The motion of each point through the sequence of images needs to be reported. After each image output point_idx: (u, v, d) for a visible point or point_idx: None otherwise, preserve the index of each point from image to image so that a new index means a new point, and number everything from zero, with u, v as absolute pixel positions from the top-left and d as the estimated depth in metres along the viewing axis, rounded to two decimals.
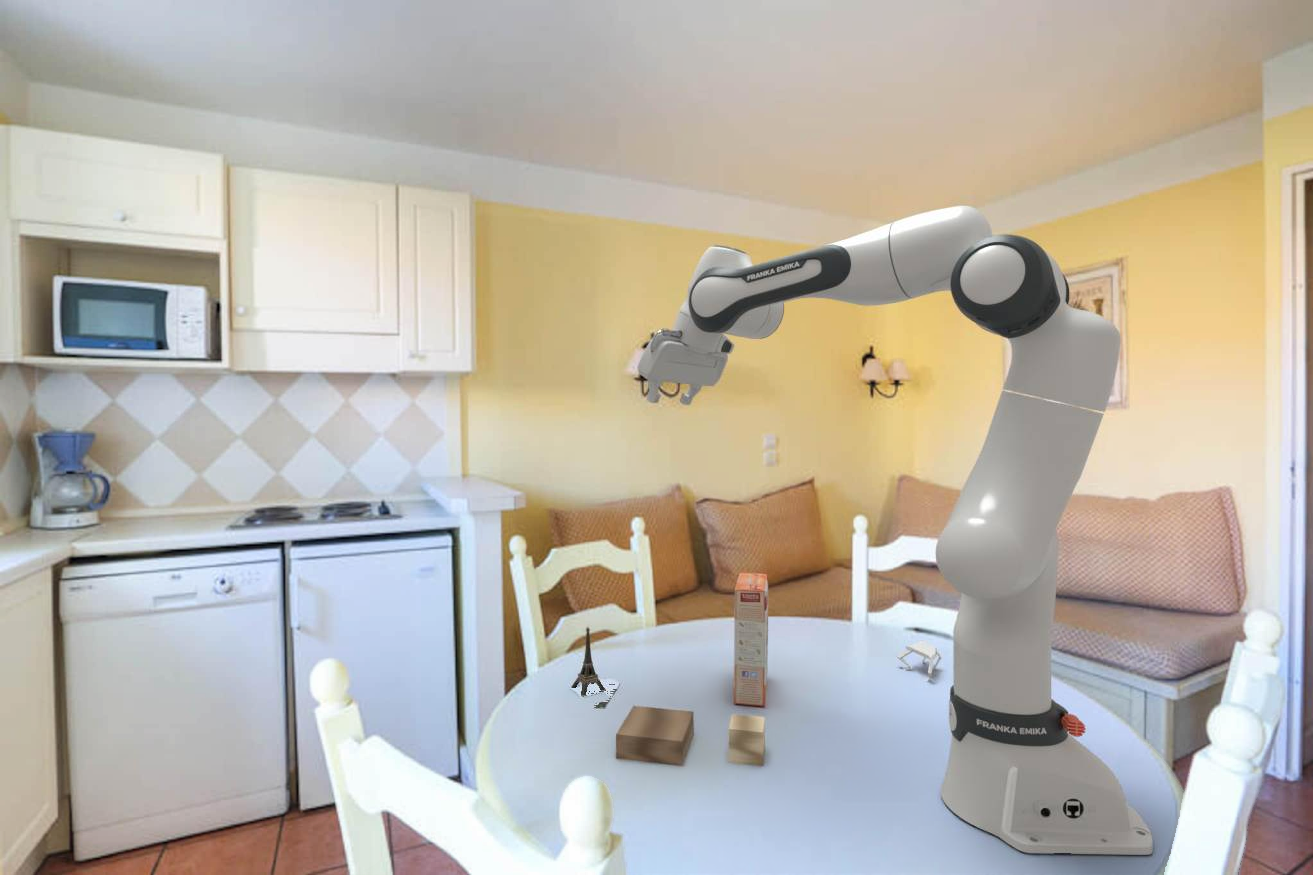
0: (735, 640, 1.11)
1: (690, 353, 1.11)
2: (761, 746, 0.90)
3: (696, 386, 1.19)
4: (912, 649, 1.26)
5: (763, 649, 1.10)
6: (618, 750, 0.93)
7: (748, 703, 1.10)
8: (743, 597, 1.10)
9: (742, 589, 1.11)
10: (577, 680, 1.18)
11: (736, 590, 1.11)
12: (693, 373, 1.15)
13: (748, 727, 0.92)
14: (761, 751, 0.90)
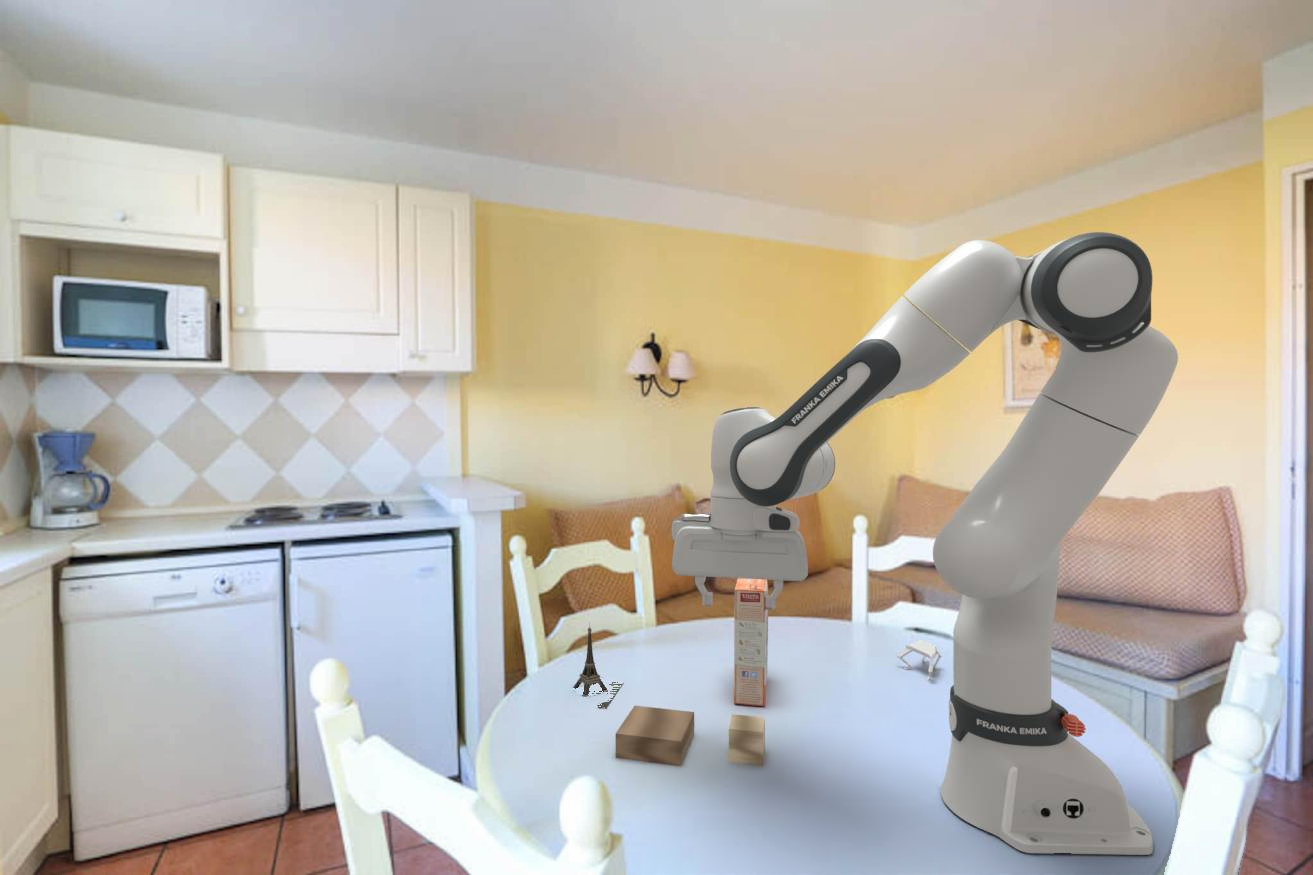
0: (735, 640, 1.11)
1: (723, 537, 0.92)
2: (761, 746, 0.90)
3: None
4: (912, 648, 1.26)
5: (763, 649, 1.10)
6: (617, 749, 0.93)
7: (748, 703, 1.10)
8: (743, 597, 1.10)
9: (742, 589, 1.11)
10: (579, 680, 1.18)
11: (736, 590, 1.11)
12: (747, 563, 0.92)
13: (748, 727, 0.92)
14: (761, 751, 0.90)
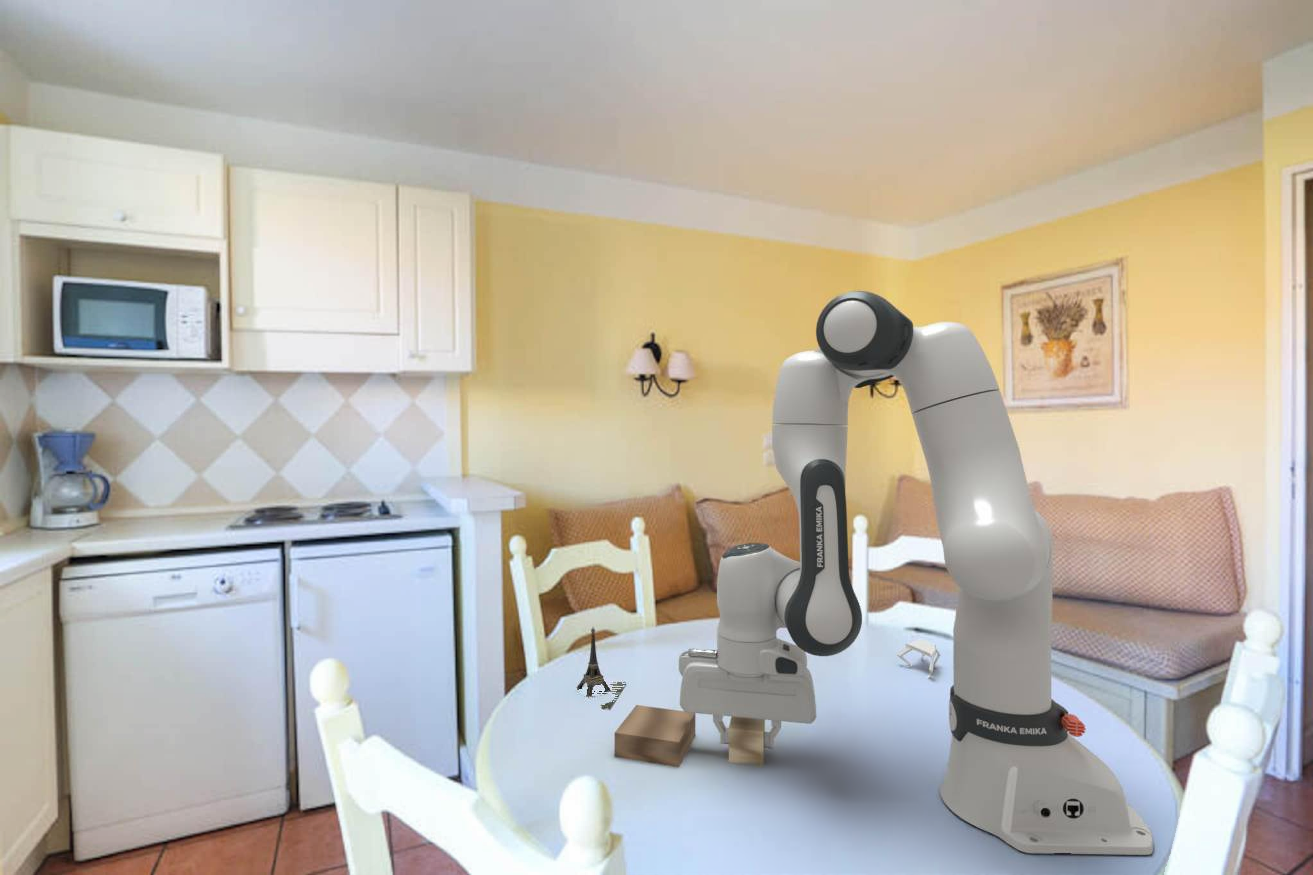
0: None
1: (730, 677, 0.92)
2: (761, 745, 0.90)
3: None
4: (912, 647, 1.27)
5: None
6: (616, 749, 0.93)
7: None
8: None
9: None
10: (582, 681, 1.18)
11: None
12: (754, 704, 0.91)
13: (748, 726, 0.92)
14: (761, 750, 0.90)
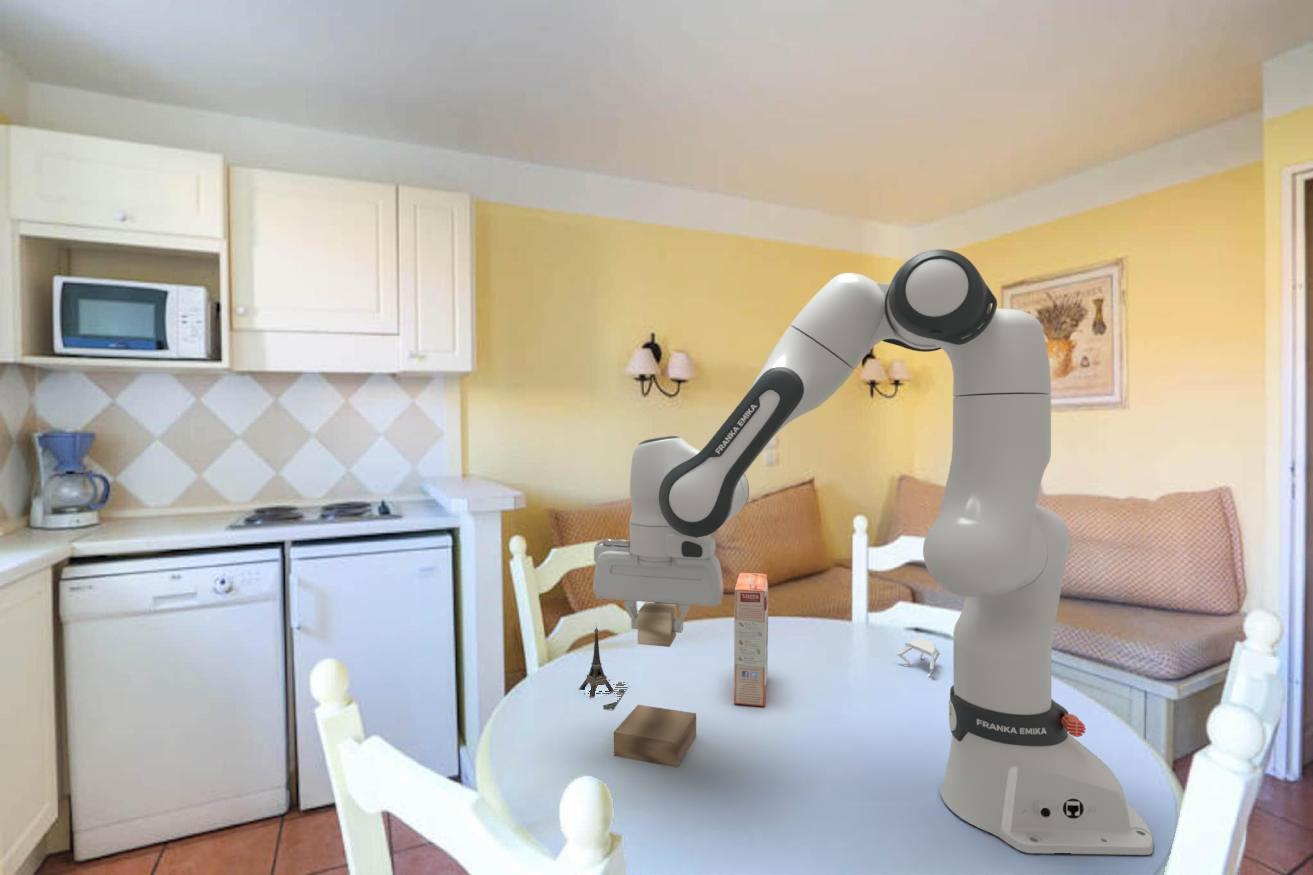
0: (735, 640, 1.11)
1: (640, 562, 0.95)
2: (668, 627, 0.93)
3: None
4: (912, 646, 1.28)
5: (763, 649, 1.10)
6: (615, 748, 0.93)
7: (748, 703, 1.10)
8: (743, 597, 1.10)
9: (742, 589, 1.11)
10: (585, 681, 1.17)
11: (736, 590, 1.11)
12: (663, 588, 0.94)
13: (657, 610, 0.95)
14: (668, 632, 0.93)
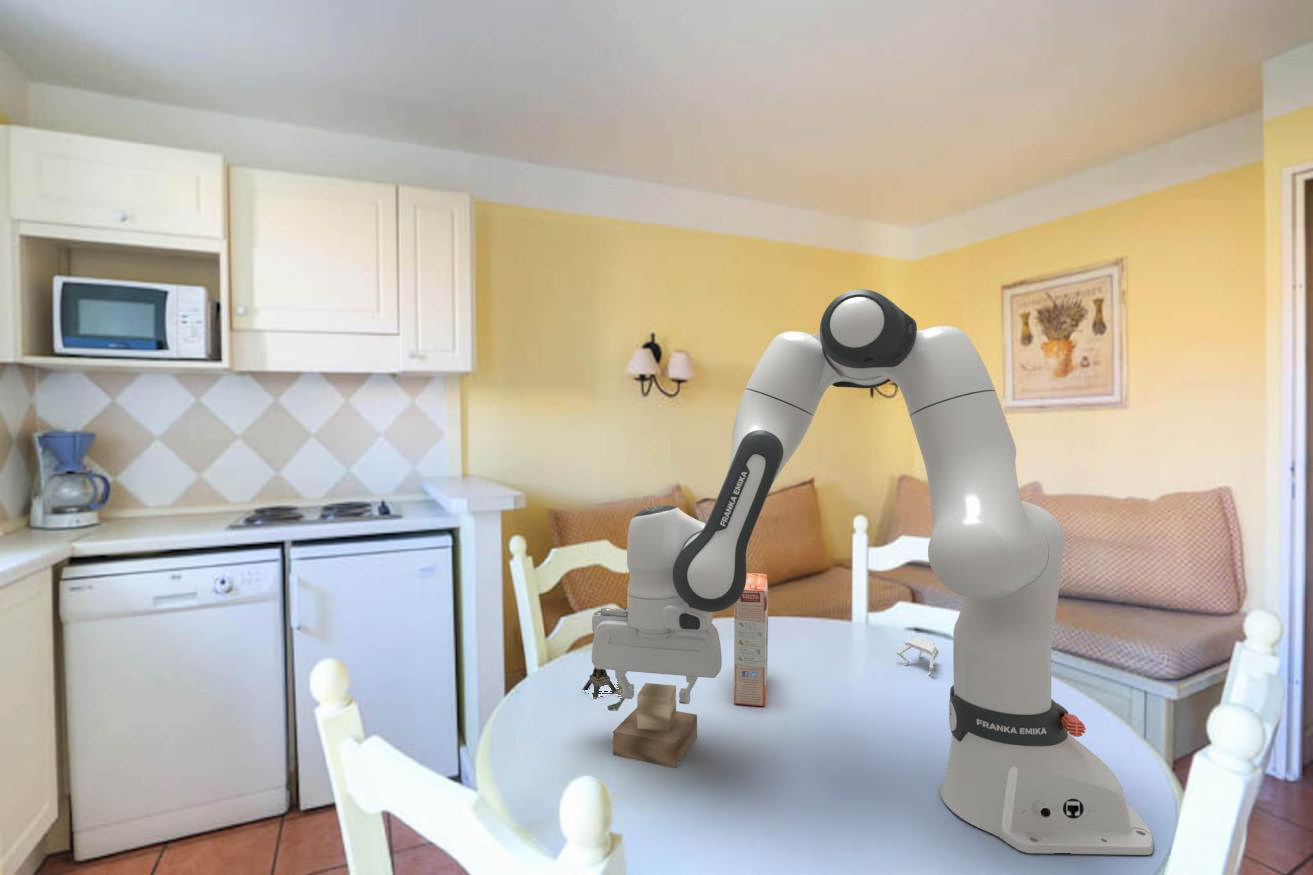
0: (735, 640, 1.11)
1: (638, 633, 0.95)
2: (668, 712, 0.93)
3: None
4: (911, 644, 1.28)
5: (763, 649, 1.10)
6: (615, 747, 0.93)
7: (748, 703, 1.10)
8: (743, 597, 1.10)
9: None
10: (589, 682, 1.17)
11: None
12: (661, 659, 0.94)
13: (657, 694, 0.95)
14: (668, 717, 0.93)
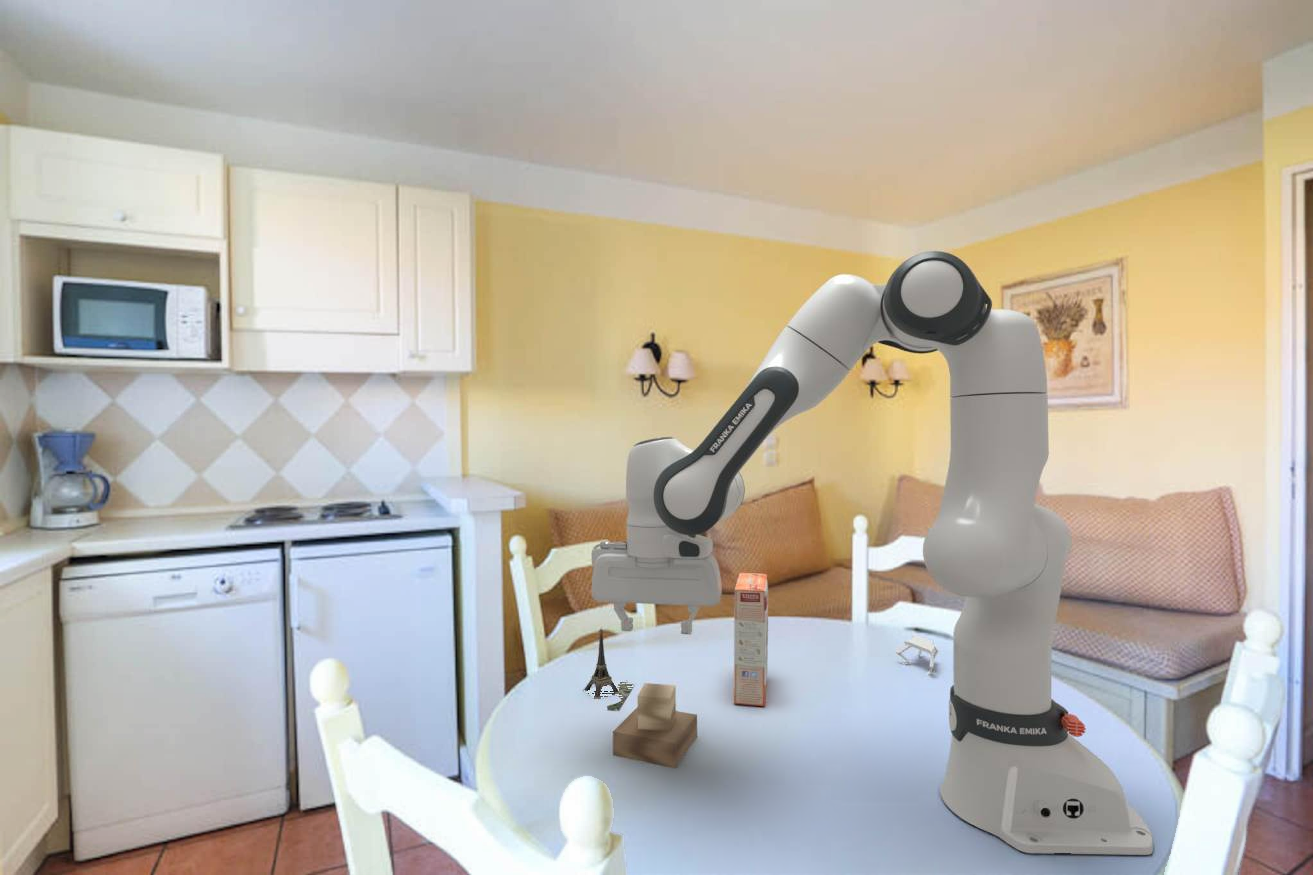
0: (735, 640, 1.11)
1: (638, 564, 0.95)
2: (668, 712, 0.93)
3: (688, 608, 0.94)
4: (911, 644, 1.29)
5: (763, 649, 1.10)
6: (615, 747, 0.93)
7: (748, 703, 1.10)
8: (743, 597, 1.10)
9: (742, 589, 1.11)
10: (590, 682, 1.17)
11: (736, 590, 1.11)
12: (661, 589, 0.94)
13: (657, 694, 0.95)
14: (668, 716, 0.93)
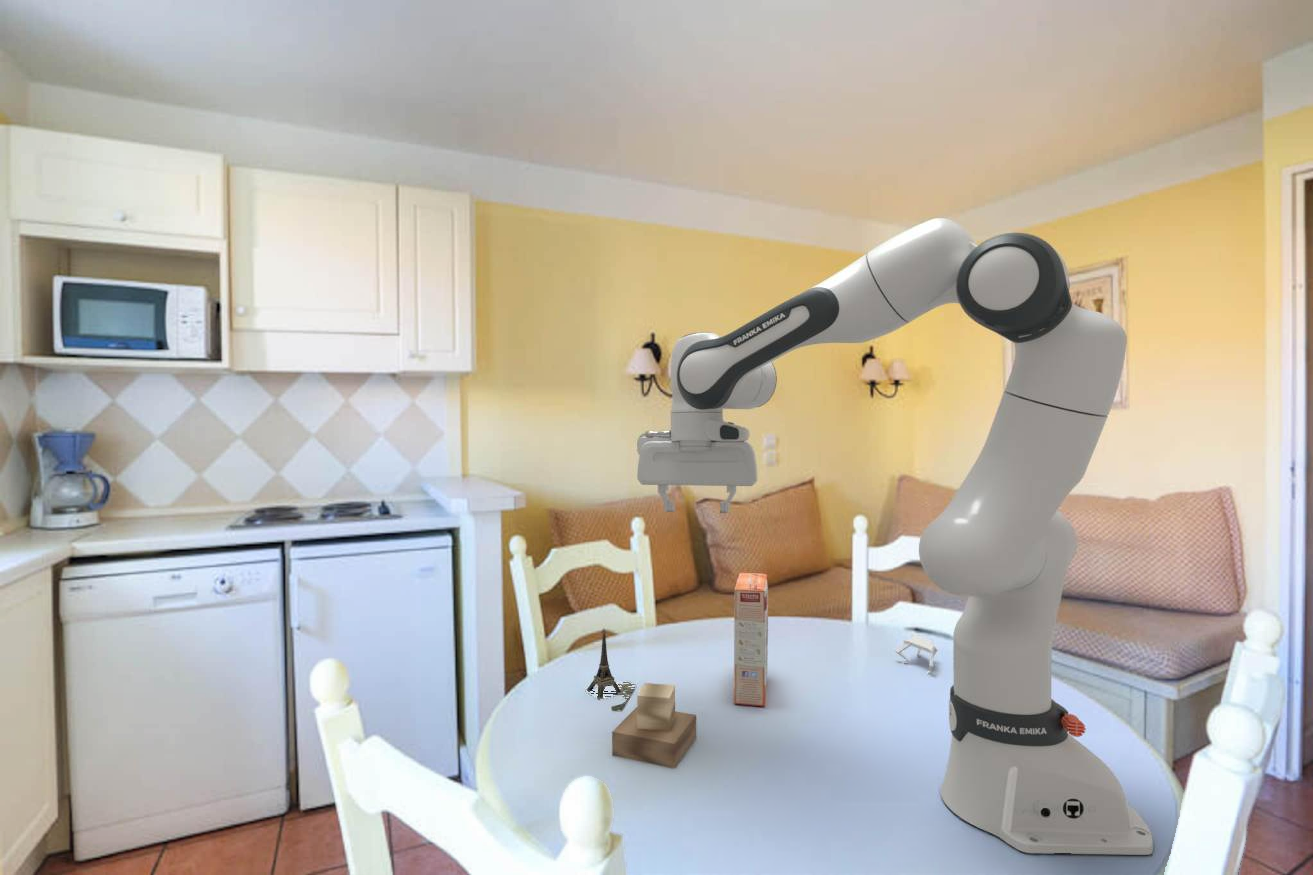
0: (735, 640, 1.11)
1: (681, 448, 1.03)
2: (668, 711, 0.93)
3: None
4: (910, 643, 1.29)
5: (763, 649, 1.10)
6: (614, 748, 0.93)
7: (748, 703, 1.10)
8: (743, 597, 1.10)
9: (742, 589, 1.11)
10: (593, 682, 1.17)
11: (736, 590, 1.11)
12: (702, 472, 1.03)
13: (656, 694, 0.95)
14: (668, 716, 0.93)
